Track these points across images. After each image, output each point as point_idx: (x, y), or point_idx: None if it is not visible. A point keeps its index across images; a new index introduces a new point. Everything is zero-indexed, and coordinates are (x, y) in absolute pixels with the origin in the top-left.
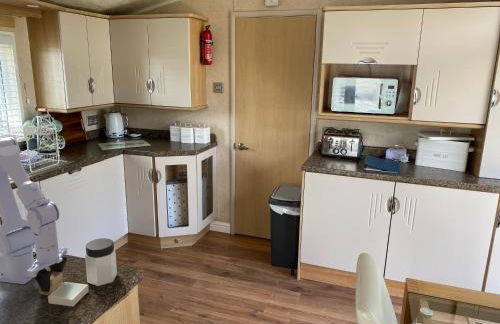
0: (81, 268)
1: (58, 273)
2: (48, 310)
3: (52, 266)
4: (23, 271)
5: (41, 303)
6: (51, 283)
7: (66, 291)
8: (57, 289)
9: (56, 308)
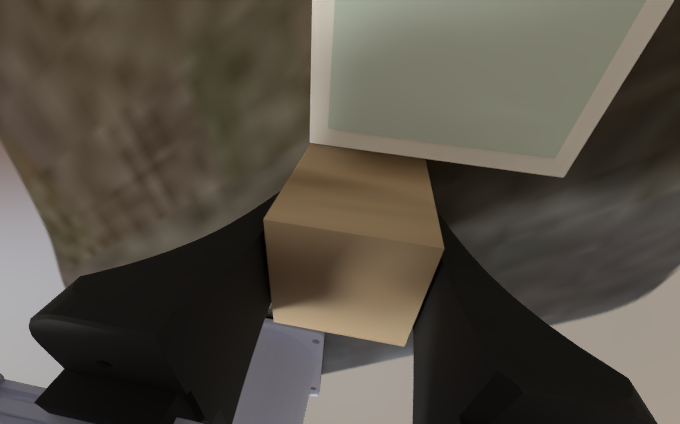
0: (70, 136)
1: (293, 243)
2: (661, 97)
3: (246, 341)
4: (284, 386)
5: (518, 196)
6: (436, 231)
7: (507, 17)
8: (444, 148)
9: (656, 33)
